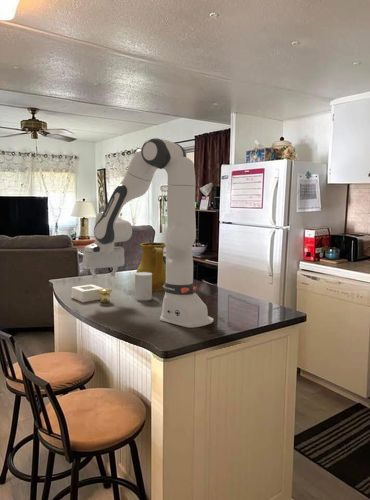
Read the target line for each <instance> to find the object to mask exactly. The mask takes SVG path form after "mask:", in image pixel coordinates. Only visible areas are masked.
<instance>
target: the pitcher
mask: <svg viewBox="0 0 370 500" xmlns="http://www.w3.org/2000/svg"><path fill="white" fill-rule="evenodd" d="M139 246H140V247H141V250H142V256H141V260H140V263H139V266H137V268H136V272H135V273H139V272H148V273H152V292H160V291H163V290H164V285H165V282H166V262H165V261H164V248H166V242H156V241H155V242H152V241H150V242H143V243H140V245H139Z"/></svg>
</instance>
